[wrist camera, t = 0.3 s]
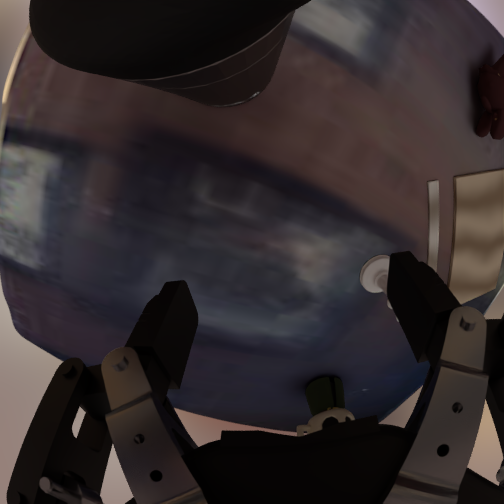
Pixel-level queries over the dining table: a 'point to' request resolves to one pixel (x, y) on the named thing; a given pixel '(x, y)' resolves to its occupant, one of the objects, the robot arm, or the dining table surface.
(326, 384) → the character mug
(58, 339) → the dining table surface
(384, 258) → the chess piece
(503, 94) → the dark brown lumpy figurine
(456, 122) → the dining table surface
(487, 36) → the dining table surface
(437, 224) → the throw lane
